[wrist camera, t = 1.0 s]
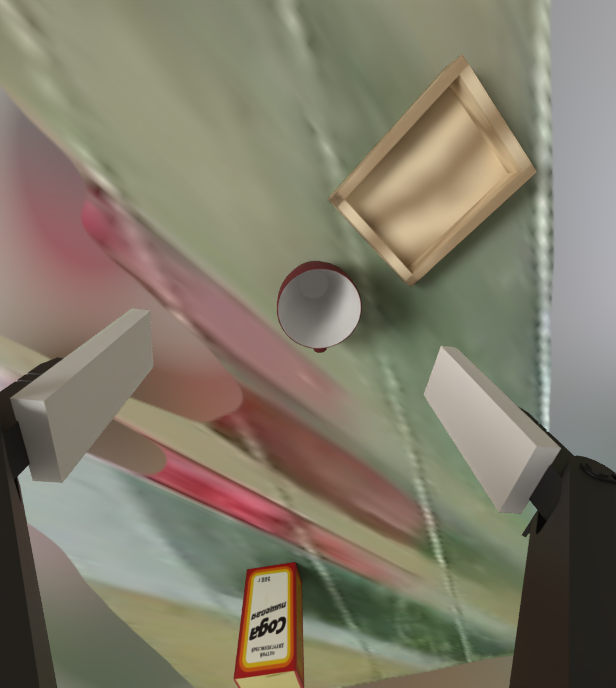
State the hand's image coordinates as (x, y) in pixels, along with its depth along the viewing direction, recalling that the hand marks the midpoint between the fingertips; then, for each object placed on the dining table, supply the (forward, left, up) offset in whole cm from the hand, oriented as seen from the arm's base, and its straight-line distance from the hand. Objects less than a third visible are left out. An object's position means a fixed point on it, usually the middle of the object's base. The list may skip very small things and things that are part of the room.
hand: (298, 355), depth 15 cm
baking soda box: (+39, -48, -26) cm, 67 cm away
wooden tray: (+5, +15, -26) cm, 30 cm away
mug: (+5, -2, -26) cm, 27 cm away
